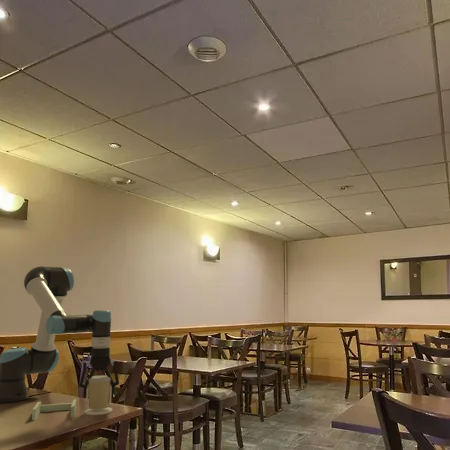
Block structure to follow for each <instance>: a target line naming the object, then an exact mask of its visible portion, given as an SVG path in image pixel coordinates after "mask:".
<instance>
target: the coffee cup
mask: <svg viewBox="0 0 450 450" xmlns="http://www.w3.org/2000/svg"><path fill="white" fill-rule="evenodd" d="M110 380H111V379H110V377H108V376H107V374H106V375H104V374H103V375H93V376H92V378H89V380H88V381H89V384H88V386H87V387H88V388H89V395H88V409H105V408H107V407H109V405H110V404H109V396H110V386H111V383H110Z"/></svg>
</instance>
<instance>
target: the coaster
mask: <svg viewBox="0 0 450 450" xmlns="http://www.w3.org/2000/svg"><path fill="white" fill-rule="evenodd" d="M111 413H113V408H112V407H109V406H108V407H107V408H105V409H89V408H88V409H85V410H84V415H87V416H105V415H108V414H111Z"/></svg>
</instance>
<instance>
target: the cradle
mask: <svg viewBox="0 0 450 450" xmlns="http://www.w3.org/2000/svg"><path fill="white" fill-rule="evenodd" d="M77 401H78V400H77V399H73V400H72V402H67V403H66V402H65V403H52V404H42V402H41V401H37V402H36V404H35V405H34V406H33V408H32V411H31V412H32V413H31V421H36V420H37V418H38V416H39V415H40V413H45V412H58V411H59V412H60V411H61V412H62V411H70V418H74V417H75V414H76V412H75V411H77Z"/></svg>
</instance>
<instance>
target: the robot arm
mask: <svg viewBox="0 0 450 450" xmlns="http://www.w3.org/2000/svg"><path fill="white" fill-rule="evenodd" d="M23 284H24V285H23V286H24V289H25V291H26V292H27V293H28V295H30V296H32V297H33V299H34V300H35V302H36V304H37V305H38V307H39V309H40V310H41V315H40V319H39V323H38V324H39V325H38V329H37V334H36V340H35V342H33V343H32V345H31V348H30V349H28V348H27V347H16V348H10V349H6V350H3V351H2V352H1V354H0V404H2V403H4V404H5V403H16V402H20V401H26V400H27V399H28V398H29V392H28V388H27V383H26V375H36V374H45V373H48V372H52V371H54V370H55V368H56V367H57V366H58V364H59V358H60V356H59V350H58V349H57V346H56V345H55V339H56V335H65V334H66V335H67V334H80V333H81V334H82V333H91V334H92V335H91V347H92V348H91V349H90V350H91V351H90V353H91V355H90V360H89V361H84V362H83V363H82V364H83V365H82V366H83V370H82V373H81V377H80V380H79V386H78V387H79V388H82V389H83V397H86V398H85V406H89V388H88V384H89V381H88V380H89V378H92V376H94V374H95V372H97V371H104V372H105V374H106V375H107V376H108V377H110V379H111V380H110V383H111V384H110V395H109V405H110V404H112V395H114V394H115V387H116V386H119V385H120V381H119V376H118V375H119V374H118V369H117V363H118V361H117V359H114V360H112V359H111V358H110V356H111V355H110V353H111V348H110V346H111V326H112V314H111V313H112V312H111V311H110V310H109V309H107V310H104V309H103V310H102V309H101V310H100V309H99V310H93V311H92V312H93V313H92V314H80V315H78V314H77V315H71V314H70V315H68V314H67V313H66V312H65V310H64V308H63V307H62V305H63V301H64V300H63V299H64V298H65V297H67V295H68V292H71V291H72V290H73V289H74V286H75V277H74V274H73V272H72V270H71V269H70V268H67V267H61V266H58V267H57V266H36V267H34V268H32V269H30V270H29V271H28V272H27V273H26V275H25V277H24V280H23ZM110 364H111V366H112V367H113V373H114V380H115V381H114V380H113V377H112V375H111V372H110V371H109V368H108V367H109V365H110ZM89 366H91V371H90V373H89V375H88V377H87V379H86V381H84V380H85V376H86V372H87V368H88V367H89ZM84 382H85V383H84Z"/></svg>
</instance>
